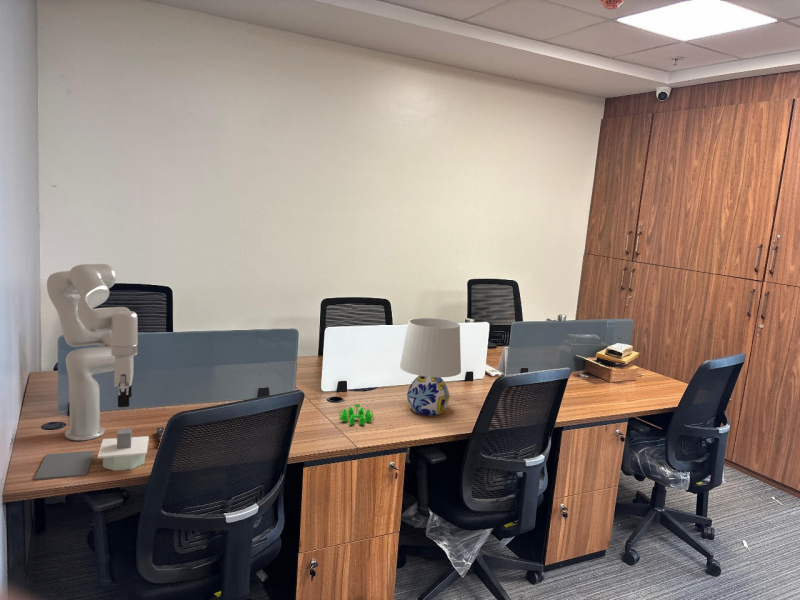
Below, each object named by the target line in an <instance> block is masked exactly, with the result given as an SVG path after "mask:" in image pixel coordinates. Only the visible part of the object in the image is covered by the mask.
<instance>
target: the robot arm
mask: <svg viewBox="0 0 800 600" xmlns="http://www.w3.org/2000/svg"><path fill="white" fill-rule="evenodd" d="M116 281H117V275H116V271H115V270H114V268H113V267H112V266H110V265H109V264H107V263H93V264H92V263H85V264H78V265H75V266H73V267H71V269H70V270H63V271H57V272H53V273H52V274H50V275H49V276H48V277H47V280H46V290H47V295H48V297H49V299H50V302H51V303H52V305H53V307H54V309H55V310H56V312H57V315H58V318H59V323H60V326H61V330H62V334H63V338H64V341H65V342H66V344H67V345H68V346H69V347H73V348H74V347H75V348H76V347H84V348H77V349H74V350H71V351H69V352H68V354H66V357H65V366H66V367H65V368H66V371H67V376H68V377H67V378H68V391H69V393H68V395H69V399H68V400H69V401H68V402H69V429H67V430H66V431H65V432H64V437H65V439H68V440H71V441H88V440H93V439H97V438H99V437H101V436H103V435H104V434H105V431H106V429H105V428H104V427H103V426H101V425H100V424H101V421H100V420H101V419H100V417H101V413H100V409H101V408H100V402H101V401H100V400H101V399H100V384H99V383H98V381H97V380H96V379H94V377H93V376H94V375H97V374H102V373H108V372H113V371H114V373H113V374H114V377H113V378H114V379H113V382H114V383H113V387H114V388H115V389H116V388H117V387H118V394H117V407H118V408H127V407H128V408H129V407H130V398H131V397H132V395H133V393H132V386H133V385H132V384H133V379H134V366H135V365H134V364H135V363H134V361H135V360H134V359H135V358H134V357H135V356H137V355H138V353H139V352H138V347H139V346H138V344H139V343H138V342H139V341H138V340H139V339H138V331H139V330H138V314H137V313H136V312H135V311H131V310H130V309H129V308H128V307H125V306H111V307H99V308H96V307H98V306H100V305H102V304H104V303H105V302H106V301H107V300H108V298H109V297H110V289H111V288H112V287H113V286H114V285H115V283H116ZM72 295H79V297H80V298H79V300H78V299H76V298H75V297H73V296H72ZM95 345H97V346H95ZM86 346H90V347H86ZM91 346H92V347H91Z"/></svg>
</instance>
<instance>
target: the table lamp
mask: <svg viewBox="0 0 800 600" xmlns="http://www.w3.org/2000/svg"><path fill="white" fill-rule="evenodd" d="M403 343H404V344H403V349H402V352H401V353H402V354H401V358H400V359H401V361H400V365H399V368H400V370H402V371H404V372H406V373H408V374H411V375H415V376H417V377H416V378H414V380H413V381H412V382H411V384H410V386H409V387H408V390H407V393H406V400H407V403H408V405H409V407H410V408H411V411H413V412H414V413H415V412H416V414H417V413H418V415H421V414H422V416H427V415H428V416H429V417H431V416H433V415H434V416H439V415H441V414H442V413H443V412H444V411H445V410H446V409H447V407H448V405H449V403H450V398H451V396H450V392H449V389H448V385H447V384H446V382H445V381H444V379H443V378H453V377H455V376H459V375H460V374H461V372H462V366H461V365H462V364H461V363H462V361H461V359H462V358H461V325H460V324H459V323H458V322H456V321H452V320H449V319H442V318H432V317H418V318H417V317H416V318H411V319H408V321H407V327H406V332H405V338H404V342H403Z"/></svg>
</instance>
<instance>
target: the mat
mask: <svg viewBox="0 0 800 600" xmlns="http://www.w3.org/2000/svg"><path fill="white" fill-rule="evenodd" d="M93 454H94V455H95V450H87V451H86V450H85V451H84V450H83V451H71V452H60V453H59V452H57V453H46V454H45V456H44V458H43V461H42V463H41V465H40V466H39V467H38V470H37V471H36V474H35V475H34V478H33V481H37V480H38V481H39V480H52V479H61V478H62V479H64V478H73V477H74V478H75V477H76V478H77V477H86V476H87V475H88V473H89V469H90V466H91V463H92V460H93V457H94V455H93Z"/></svg>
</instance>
